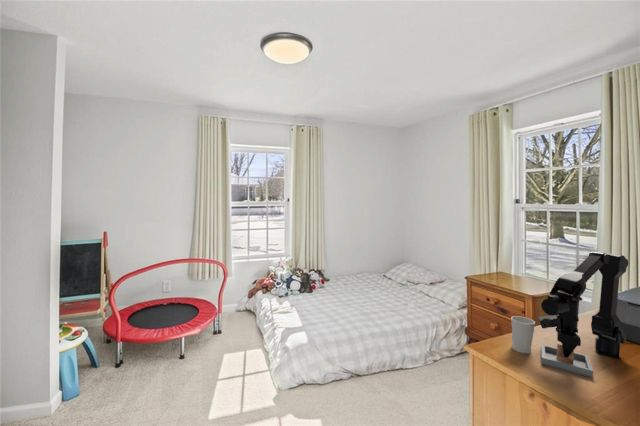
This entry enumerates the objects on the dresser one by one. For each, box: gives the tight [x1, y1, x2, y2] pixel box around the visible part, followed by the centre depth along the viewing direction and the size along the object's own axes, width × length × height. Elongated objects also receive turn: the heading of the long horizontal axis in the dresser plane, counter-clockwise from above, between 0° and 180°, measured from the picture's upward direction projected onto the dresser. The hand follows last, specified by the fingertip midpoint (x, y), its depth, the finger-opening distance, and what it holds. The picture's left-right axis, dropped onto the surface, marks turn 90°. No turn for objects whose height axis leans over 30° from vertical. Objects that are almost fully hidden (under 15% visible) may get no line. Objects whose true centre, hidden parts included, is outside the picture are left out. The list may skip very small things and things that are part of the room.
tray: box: [540, 343, 594, 379], centre depth 112 cm, size 14×13×2 cm
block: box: [556, 343, 575, 364], centre depth 112 cm, size 4×4×5 cm
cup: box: [510, 315, 536, 354], centre depth 122 cm, size 8×8×12 cm
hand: (565, 353), depth 112 cm, fingers open, 5 cm apart
